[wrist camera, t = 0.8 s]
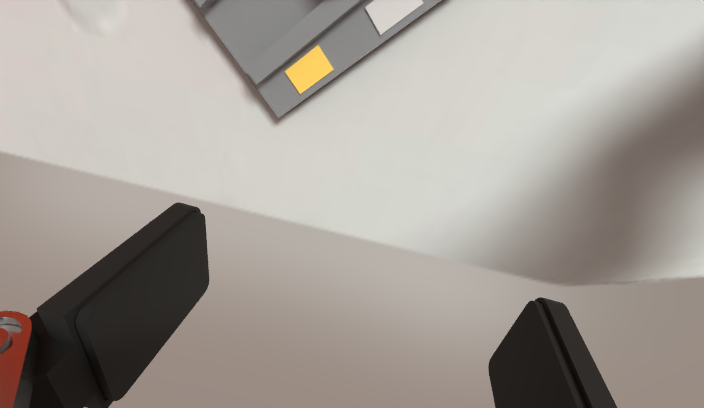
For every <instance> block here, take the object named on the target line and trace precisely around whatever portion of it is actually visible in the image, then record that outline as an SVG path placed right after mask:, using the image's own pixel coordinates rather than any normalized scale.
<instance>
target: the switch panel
mask: <svg viewBox="0 0 704 408" xmlns="http://www.w3.org/2000/svg"><path fill="white" fill-rule="evenodd" d="M440 1H441V0H192V2H193V3H194V4H195V6H196V7H197V8H198V10H199V11H200V12H201V14H202V15H203V16H204V18H205V19H206V21H207V22H208V23H209V25H210V26H211V27H212V29H213V30H214V31H215V33H216V34H217V35H218V37H219V38H220V40H221V41H222V42H223V44H224V45H225V46H226V48H227V49H228V50H229V52H230V53H231V54H232V56H233V57H234V59H235V60H236V61H237V63H238V64H239V65H240V67H241V68H242V69H243V71H244V72H245V73H246V75H247V76H248V78H249V79H250V80H251V82H252V83H253V84H254V86H255V87H256V88H257V90H258V91H259V92H260V94H261V95H262V97H263V98H264V99H265V101H266V102H267V103H268V105H269V106H270V107H271V109H272V110H273V112H274V113H275V114H276V116H277V117H278V118H280V117H281V116H282V115H284V114H285V113H287V112H288V111H289V110H291V109H292V108H293V107H295V106H296V105H298V104H299V103H300V102H302V101H303V100H304V99H306V98H307V97H309V96H310V95H311V94H313V93H314V92H316V91H317V90H318V89H320V88H321V87H322V86H324V85H325V84H327V83H328V82H329V81H331V80H332V79H333V78H335V77H336V76H338V75H339V74H340V73H342V72H343V71H345V70H346V69H347V68H349V67H350V66H351V65H353V64H354V63H356V62H357V61H358V60H360V59H361V58H362V57H364V56H365V55H367V54H368V53H369V52H371V51H372V50H373V49H375V48H376V47H378V46H379V45H380V44H382V43H383V42H385V41H386V40H387V39H389V38H390V37H391V36H393V35H394V34H396V33H397V32H398V31H400V30H401V29H402V28H404V27H405V26H407V25H408V24H409V23H411V22H412V21H414V20H415V19H416V18H418V17H419V16H420V15H422V14H423V13H425V12H426V11H427V10H429V9H430V8H431V7H433V6H434V5H436V4H437V3H438V2H440Z"/></svg>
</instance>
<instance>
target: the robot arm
mask: <svg viewBox="0 0 704 408" xmlns="http://www.w3.org/2000/svg"><path fill="white" fill-rule="evenodd" d="M208 285H209V270H208V255H207V240H206V225H205V216H204V214H201V212H200V209H199V208H197V207H194V206H190V205H187V204H183V203H175V204H173V205H172V206H171V207H169V208H168V209H167V210H166V211H164V212H163V213H162V214H160V215H159V216H158V217H156V218H155V219H154V220H152V221H151V222H150V223H149V224H147V225H146V226H145V227H143V228H142V229H141V230H140V231H138V232H137V233H135V234H134V235H133V236H131V237H130V238H129V239H127V240H126V241H125V242H124V243H122V244H121V245H120V246H118V247H117V248H116V249H114V250H113V251H112V252H110V253H109V254H108V255H106V256H105V257H104V258H102V259H101V260H100V261H99V262H97V263H96V264H95V265H93V266H92V267H91V268H89V269H88V270H87V271H85V272H84V273H83V274H81V275H80V276H79V277H78V278H76V279H75V280H74V281H72V282H71V283H70V284H68V285H67V286H66V287H64V288H63V289H62V290H60V291H59V292H58V293H56V294H55V295H54V296H52V297H51V298H50V299H49V300H47V301H46V302H45V303H43V304H42V305H41V306H39V307H38V308H37V312H36V313H34V314H33V315H32V316H31V317H29V318H28V316H27V315H25V314H22V313H20V312H16V311H0V408H83V407H88V408H108V407H109V406H110V404H111V403H112V402H113V401H117V400H119V399H121V398H122V397H123V396H124V395H125V394H126V393H127V391H128V390H129V389H130V388H131V386H132V385H133V384H134V382H135V381H136V380H137V378H138V377H139V376H140V375H141V374H142V372H143V371H144V370H145V368H146V367H147V366H148V365H149V363H150V362H151V361H152V359H153V358H154V357H155V356H156V354H157V353H158V352H159V350H160V349H161V348H162V346H163V345H164V344H165V343H166V342H167V340H168V339H169V338H170V336H171V335H172V334H173V333H174V331H175V330H176V329H177V328H178V326H179V325H180V324H181V322H182V321H183V320H184V319H185V317H186V316H187V315H188V313H189V312H190V311H191V310H192V308H193V307H194V306H195V304H196V303H197V302H198V301H199V299H200V298H201V297H202V296H203V294H204V293H205V291H206V290H207V287H208ZM489 376H490V381H491V386H492V391H493V396H494V402H495V407H496V408H617V406H616V404H615V402H614V400H613V398H612V396H611V394H610V392H609V390H608V388H607V386H606V384H605V382H604V380H603V378H602V376H601V374H600V372H599V370H598V368H597V366H596V364H595V362H594V360H593V358H592V356H591V354H590V352H589V351H588V348H587V347H586V345H585V343H584V341H583V339H582V337H581V335H580V333H579V331H578V329H577V327H576V325H575V323H574V321H573V319H572V317H571V315H570V313H569V311H568V309H567V307H566V306H565V305H564V304H563V303H560V302H556V301H553V300H549V299H545V298H537V299H536V300H535V301H530V302H528V304H527V305H526V306H525V308H524V310H523V311H522V312H521V314H520V315H519V317H518V318H517V320H516V321H515V323H514V324H513V326H512V327H511V329H510V330H509V332H508V333H507V335H506V336H505V338H504V339H503V341H502V342H501V344H500V345H499V347H498V348H497V350H496V351H495V353H494V354H493V356H492V357H491V359H490V362H489Z"/></svg>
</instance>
